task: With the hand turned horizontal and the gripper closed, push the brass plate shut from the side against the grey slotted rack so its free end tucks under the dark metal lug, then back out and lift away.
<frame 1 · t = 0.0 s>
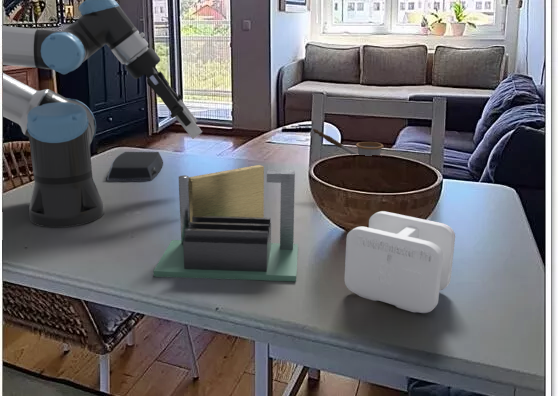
hand: (195, 129, 143), 15 cm above the table, tool tilted 35°, fingers open, 13 cm apart
coffee pot: (348, 194, 147), on the table
external hard drive: (136, 173, 165), on the table
cable organizer: (397, 295, 96), on the table
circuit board: (186, 248, 112), on the table
brass plate: (227, 201, 115), point 7 cm above the table, hinge at 40.0°
grey slotted rack: (186, 248, 112), resting on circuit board
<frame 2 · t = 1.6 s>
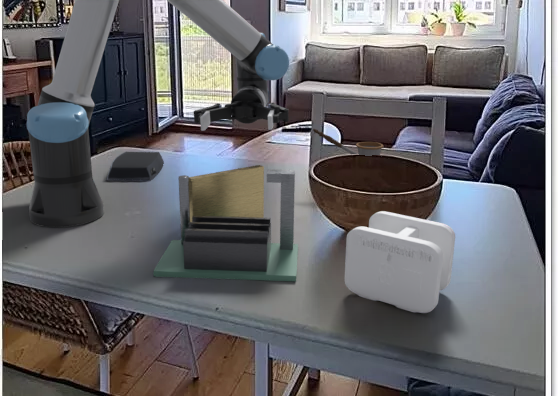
hand: (235, 123, 120), 21 cm above the table, tool horizontal, fingers open, 13 cm apart
nothing on the table moved.
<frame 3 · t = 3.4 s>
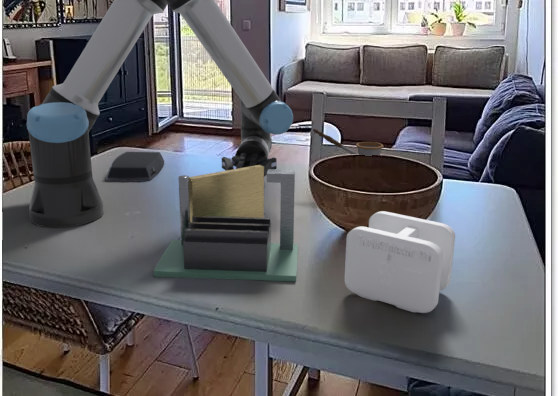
hand: (241, 183, 122), 9 cm above the table, tool horizontal, fingers closed
nothing on the table moved.
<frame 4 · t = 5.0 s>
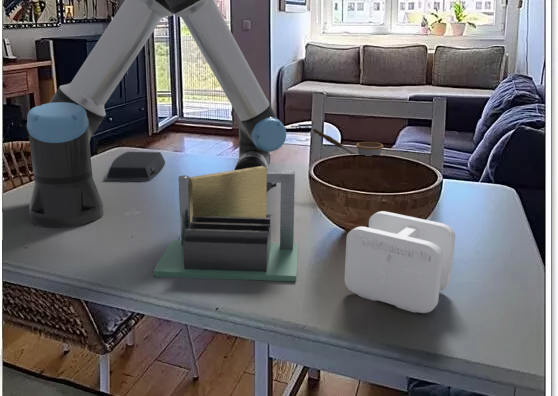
hand: (241, 202, 118), 6 cm above the table, tool horizontal, fingers closed
brass plate: (229, 202, 115), point 7 cm above the table, hinge at 36.5°, touching gripper
everything else where it was.
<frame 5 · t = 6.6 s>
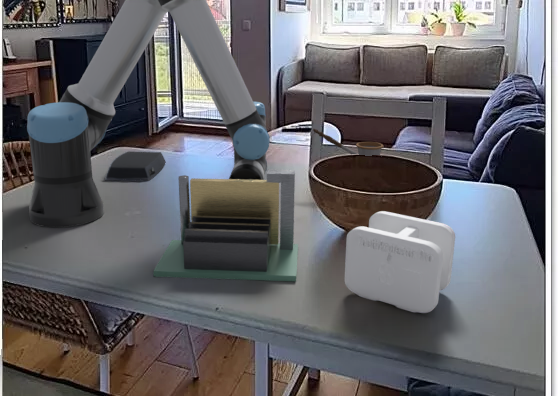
hand: (236, 215, 111), 7 cm above the table, tool horizontal, fingers closed, pressing on brass plate
brass plate: (235, 211, 110), point 7 cm above the table, hinge at 1.1°, touching gripper
everything else where it was.
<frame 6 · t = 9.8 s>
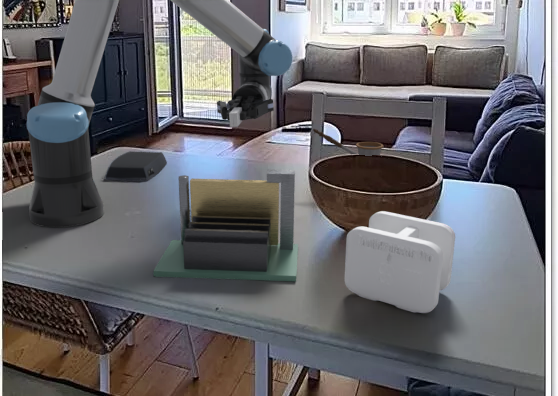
hand: (233, 120, 117), 22 cm above the table, tool horizontal, fingers closed
brass plate: (235, 212, 110), point 7 cm above the table, hinge at -0.2°
everything else where it was.
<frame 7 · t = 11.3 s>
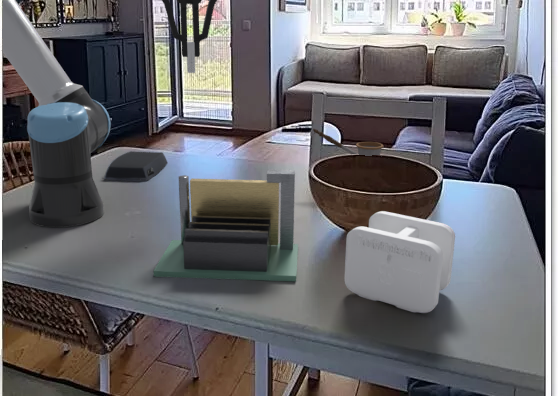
hand: (191, 72, 133), 29 cm above the table, tool pointing down, fingers closed
nothing on the table moved.
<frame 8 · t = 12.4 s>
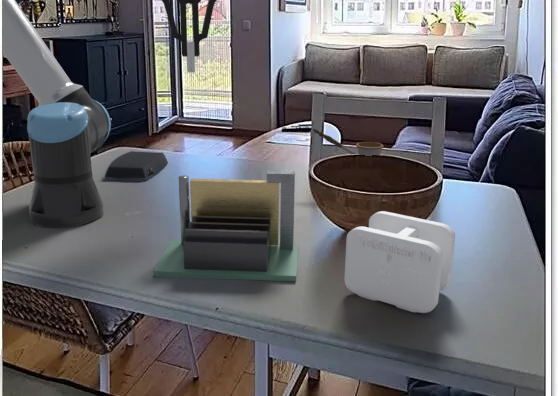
hand: (191, 71, 133), 29 cm above the table, tool pointing down, fingers closed
nothing on the table moved.
at the end: brass plate at +0° (first picture: +40°); cable organizer moved 0.3 cm from its start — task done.
